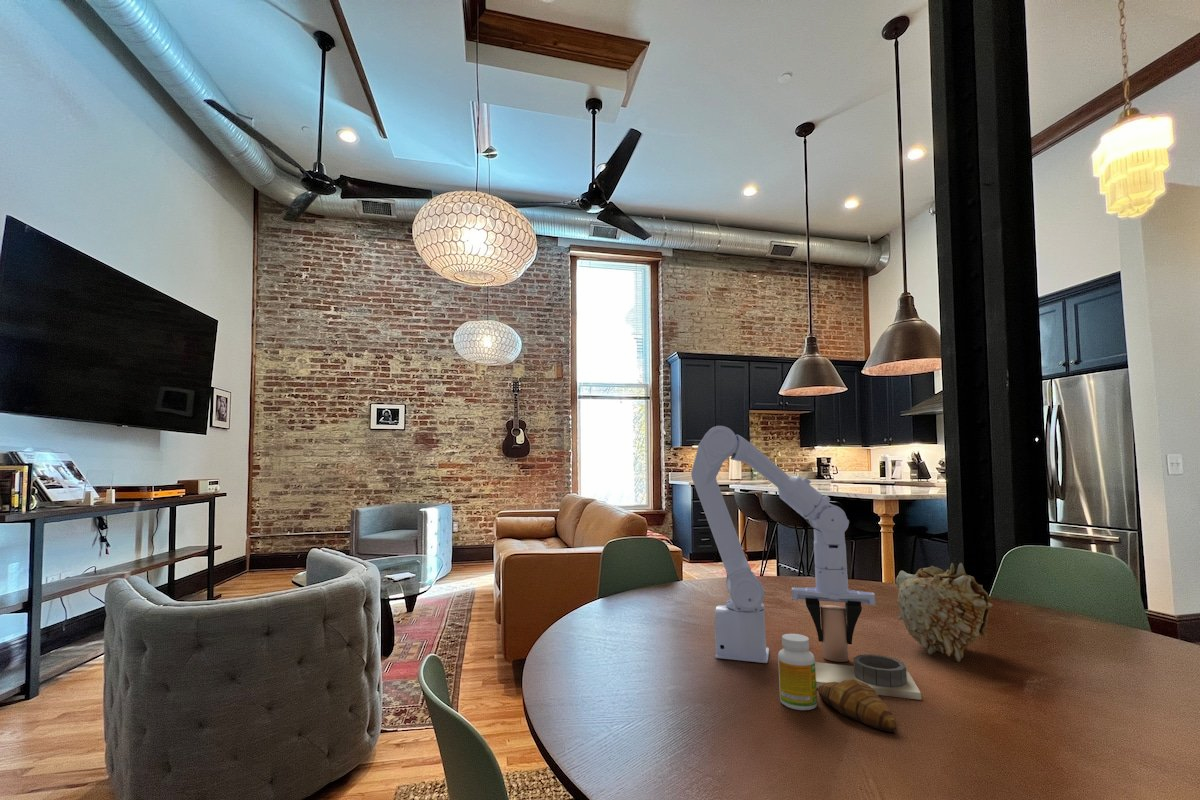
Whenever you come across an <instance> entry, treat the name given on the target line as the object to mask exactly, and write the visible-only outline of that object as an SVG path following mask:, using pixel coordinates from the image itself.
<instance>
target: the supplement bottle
mask: <svg viewBox="0 0 1200 800" xmlns="http://www.w3.org/2000/svg"><path fill="white" fill-rule="evenodd" d="M781 645H782V647H783V648H782V649H780V650H779V651H778V654H777V661H778V662H777V664H778V683H779V684H778V688H779V701H780V703H781V704H782V705H784V706H785V707H787V708H789V709H792V710H796V711H811V710H814V709H816V708H817V706H818V695H817V693H818V689H817V688H816V670H815V662H816V659H815V655H814V654H813V653H812V652H811V651H809V649H810V639H809V637H808V636H806V635H803V634H799V633H785V634H782V635H781Z"/></svg>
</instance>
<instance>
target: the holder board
mask: <svg viewBox="0 0 1200 800" xmlns="http://www.w3.org/2000/svg"><path fill="white" fill-rule="evenodd" d="M815 670H816V689H818V688H819V686H820V685H822V684H825V683H827V682H842V681H844V680H852V679H854V680H857V681H860V682H862V683H865V684H867V685H869V686H870V687H871V688H873V689H874V690H875V691H876V693H877V695H878V696H883V697H884V696H885V697H895V698H903V699H911V700H920V701H921V700H922V693H921V690H920V689H919V687H918V686H917V684H916V682H915V680H914V679H913V677H912V675H911V674H910V672H909V671H907V666H906V664H905V663H904V662H903V661H901V660H899V659H896V658H894V657H890V656H886V655H880V654H858V655H856V656H854V657H853V665H848V664H838V663H837V664H836V663H826V662H818V661H815Z"/></svg>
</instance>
